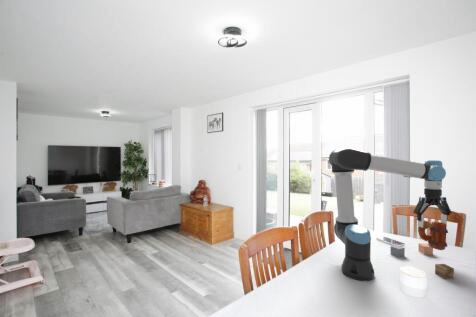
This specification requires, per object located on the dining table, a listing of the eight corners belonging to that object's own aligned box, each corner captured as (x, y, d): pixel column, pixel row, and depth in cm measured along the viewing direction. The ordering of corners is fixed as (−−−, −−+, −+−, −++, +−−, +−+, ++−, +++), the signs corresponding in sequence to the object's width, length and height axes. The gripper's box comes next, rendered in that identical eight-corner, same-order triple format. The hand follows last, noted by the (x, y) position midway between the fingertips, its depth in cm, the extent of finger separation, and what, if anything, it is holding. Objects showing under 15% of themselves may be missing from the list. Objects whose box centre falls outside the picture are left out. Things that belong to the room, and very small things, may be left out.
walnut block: (444, 279, 116) (444, 269, 115) (435, 274, 120) (435, 264, 120) (453, 278, 116) (454, 268, 116) (444, 273, 121) (444, 263, 121)
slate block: (398, 257, 140) (398, 249, 139) (390, 254, 144) (390, 246, 144) (404, 256, 141) (404, 247, 141) (396, 252, 146) (396, 244, 146)
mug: (440, 246, 135) (442, 220, 134) (452, 252, 127) (453, 224, 126) (413, 244, 136) (414, 218, 136) (422, 249, 128) (424, 222, 128)
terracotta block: (424, 254, 143) (424, 246, 143) (418, 251, 148) (418, 243, 148) (432, 254, 142) (432, 246, 142) (427, 251, 147) (427, 243, 147)
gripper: (417, 189, 126) (416, 229, 126) (460, 189, 128) (459, 228, 128) (406, 187, 133) (405, 224, 134) (447, 187, 135) (446, 223, 136)
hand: (432, 226), depth 131 cm, fingers closed on mug, 13 cm apart
